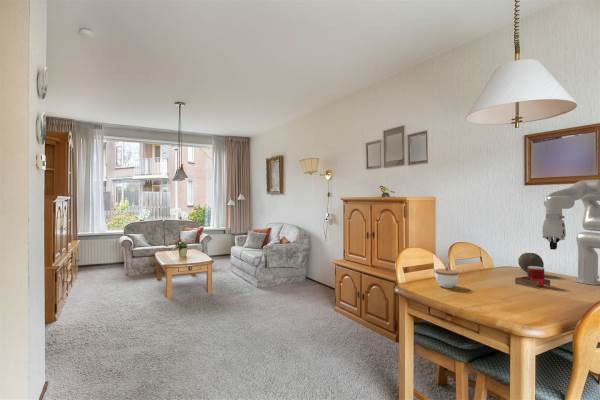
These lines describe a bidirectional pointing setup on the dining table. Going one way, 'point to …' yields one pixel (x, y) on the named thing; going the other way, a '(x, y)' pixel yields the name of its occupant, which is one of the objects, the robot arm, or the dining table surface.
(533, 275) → the canned food
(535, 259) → the cantaloupe
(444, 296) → the dining table surface
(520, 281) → the corral
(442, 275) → the lidded bowl
